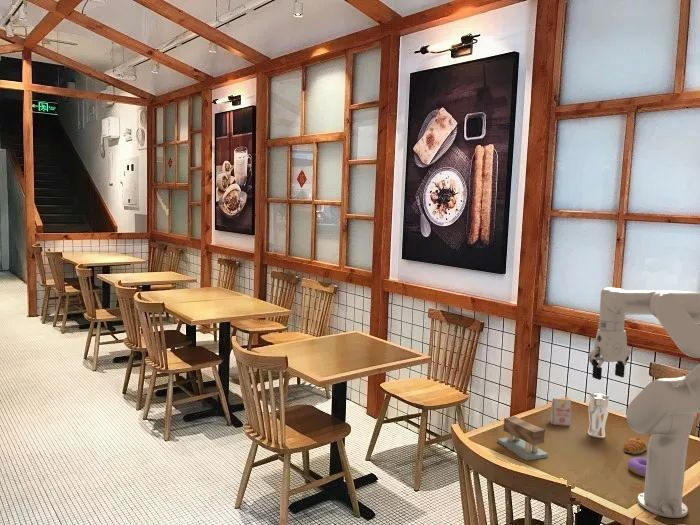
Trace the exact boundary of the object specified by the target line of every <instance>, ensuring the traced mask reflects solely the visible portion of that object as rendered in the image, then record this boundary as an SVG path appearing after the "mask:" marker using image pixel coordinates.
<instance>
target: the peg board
mask: <svg viewBox="0 0 700 525" xmlns="http://www.w3.org/2000/svg"><path fill="white" fill-rule="evenodd" d="M497 442H498V443H499V444H500V443H501V444H500V445H502V446H503V445H504V447H505V448H506V447H507V448H506V449H508V450H509V449H510V450H509V451H510V452H512V451H513V453H514V454H515V453H516V454H515V455H517V456H518V457H519V458H522V459H523V460H524V459H525V460H524V461H533V460H539V459H546V458H549V453H547V452H546V451H544V450H542V449H541V448H539V444H537V445H532V444H530V443H528V442H526V441H524V440H522V439H520V438H518V437H516V436H514V435H512V434H509V433H507V437H501V438H497Z"/></svg>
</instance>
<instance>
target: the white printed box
mask: <svg viewBox="0 0 700 525" xmlns="http://www.w3.org/2000/svg"><path fill="white" fill-rule="evenodd" d="M551 402H552V403H551V406H550V407H551V408H550V423H551V425H552V424H554V425H553V426H563V427H571V420H572V400H571V399H564V398H552V401H551Z"/></svg>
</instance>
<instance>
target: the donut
mask: <svg viewBox="0 0 700 525" xmlns="http://www.w3.org/2000/svg"><path fill="white" fill-rule="evenodd" d="M646 464H647V457H641V456H639V457H637V456H636V457H633V458H630V459H629V460H628V462H627V467H628V469H629V471H630V472H632V473H633V474H635V475H637V476H639V477H644V478H645V476H646Z"/></svg>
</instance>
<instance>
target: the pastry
mask: <svg viewBox="0 0 700 525" xmlns="http://www.w3.org/2000/svg"><path fill="white" fill-rule="evenodd" d="M646 450H648V445H646V443H645V441H644V439H642V438H641V437H640V438H639V437H631V438H629V439H627V440H625V442H624V443H623V451H624V452H625V453H628V454H631V455H638V454H642V453H645V451H646Z"/></svg>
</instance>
